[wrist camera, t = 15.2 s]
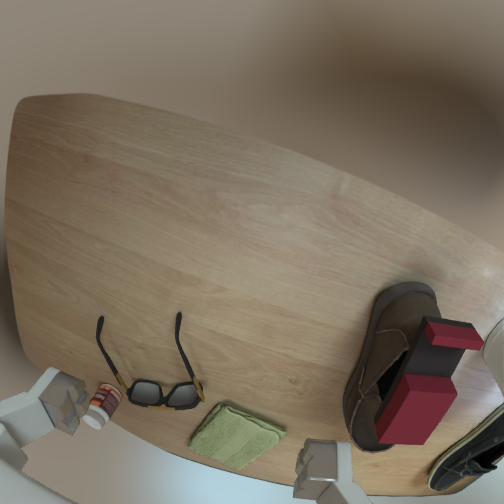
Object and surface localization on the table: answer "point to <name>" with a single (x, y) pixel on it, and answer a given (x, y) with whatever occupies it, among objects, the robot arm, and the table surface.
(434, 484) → the boat shoe
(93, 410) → the pill bottle
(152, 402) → the sunglasses
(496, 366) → the jar
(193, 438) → the washcloth
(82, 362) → the table surface
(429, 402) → the red and black block
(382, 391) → the loafer
